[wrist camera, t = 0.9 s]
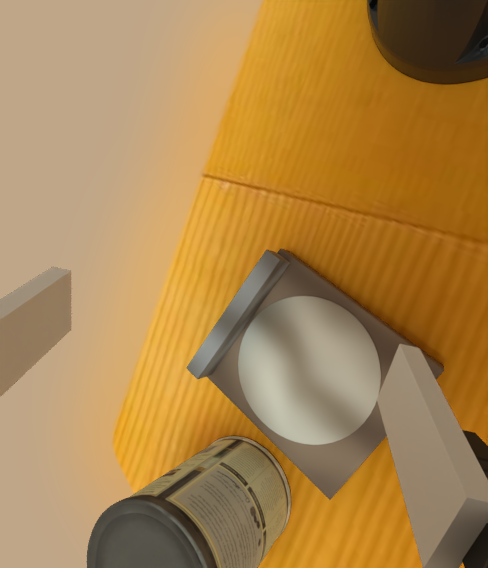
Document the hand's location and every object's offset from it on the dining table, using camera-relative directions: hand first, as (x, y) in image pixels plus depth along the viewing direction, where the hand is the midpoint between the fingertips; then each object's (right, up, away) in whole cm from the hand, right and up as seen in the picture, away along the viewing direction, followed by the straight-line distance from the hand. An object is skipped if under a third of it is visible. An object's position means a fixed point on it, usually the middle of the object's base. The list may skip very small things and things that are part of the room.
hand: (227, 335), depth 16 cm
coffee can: (+1, -18, +22) cm, 29 cm away
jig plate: (+7, -5, +20) cm, 21 cm away
